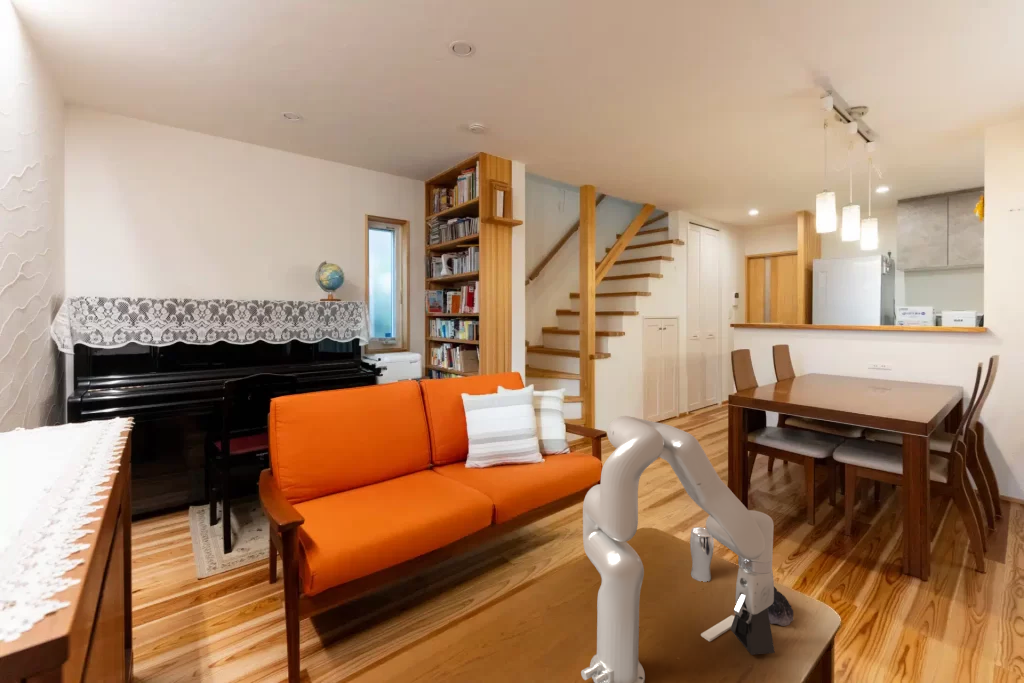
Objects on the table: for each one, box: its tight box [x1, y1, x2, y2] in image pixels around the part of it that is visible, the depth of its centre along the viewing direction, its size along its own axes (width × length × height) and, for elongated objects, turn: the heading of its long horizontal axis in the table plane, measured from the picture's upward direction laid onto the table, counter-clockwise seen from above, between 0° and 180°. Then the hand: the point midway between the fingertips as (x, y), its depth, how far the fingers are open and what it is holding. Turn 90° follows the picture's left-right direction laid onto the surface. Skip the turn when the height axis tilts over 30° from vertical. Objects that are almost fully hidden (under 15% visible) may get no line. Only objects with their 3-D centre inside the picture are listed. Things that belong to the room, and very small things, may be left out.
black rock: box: [768, 586, 794, 627], centre depth 127 cm, size 13×14×10 cm
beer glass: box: [689, 526, 714, 583], centre depth 144 cm, size 7×7×15 cm
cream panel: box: [700, 614, 735, 642], centre depth 120 cm, size 14×2×1 cm, turn 122°
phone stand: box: [730, 604, 776, 656], centre depth 114 cm, size 9×6×12 cm, turn 5°
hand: (752, 629), depth 114 cm, fingers closed on phone stand, 6 cm apart
